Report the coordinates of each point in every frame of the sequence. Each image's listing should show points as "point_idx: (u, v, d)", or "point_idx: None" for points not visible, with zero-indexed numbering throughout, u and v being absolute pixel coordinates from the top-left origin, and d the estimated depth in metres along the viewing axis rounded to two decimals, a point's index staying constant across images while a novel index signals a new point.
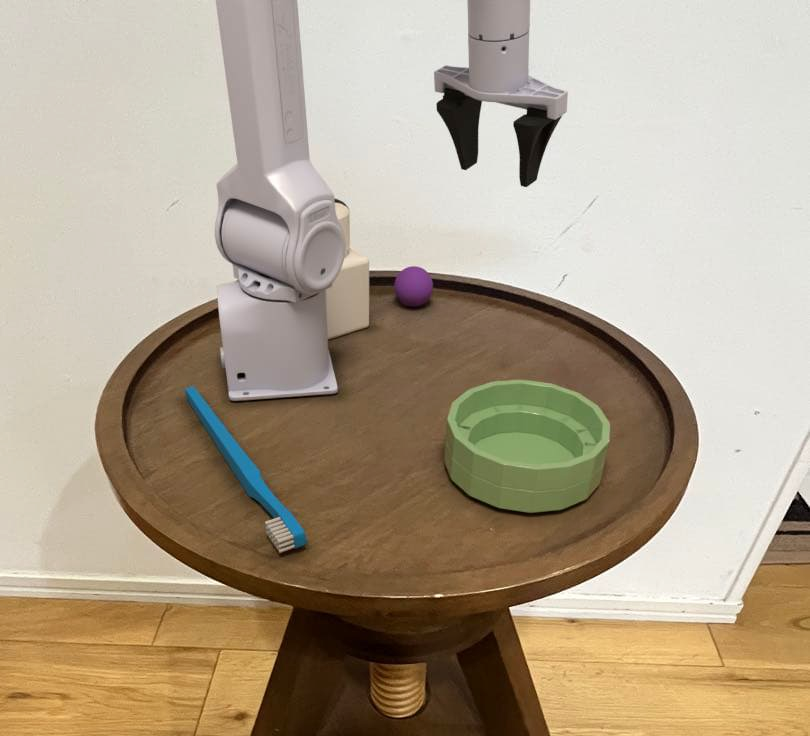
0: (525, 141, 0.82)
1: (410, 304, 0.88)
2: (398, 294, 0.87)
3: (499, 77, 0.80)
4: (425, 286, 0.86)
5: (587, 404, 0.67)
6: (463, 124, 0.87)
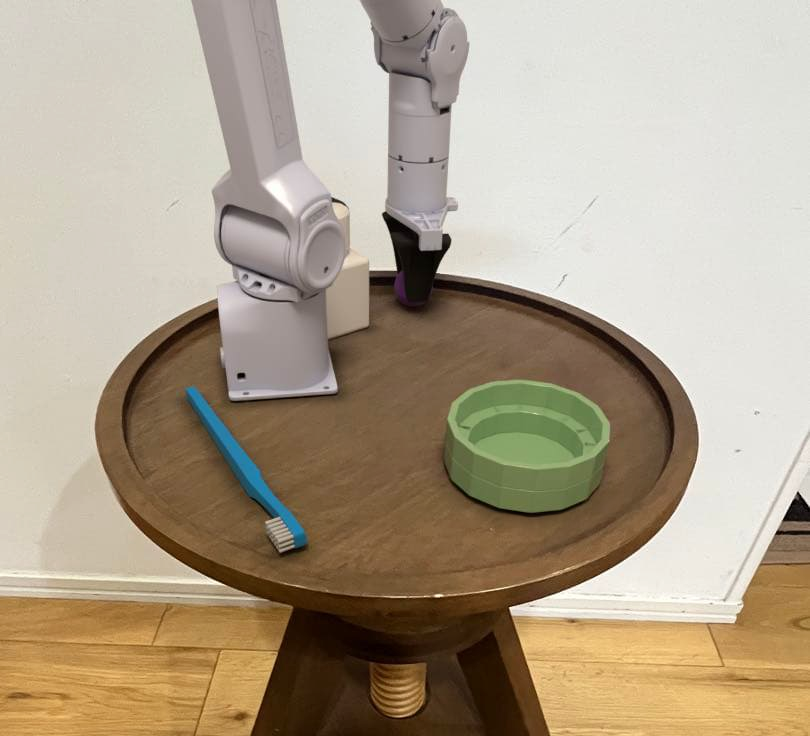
0: (399, 255, 0.82)
1: (410, 304, 0.88)
2: (398, 294, 0.87)
3: (397, 194, 0.80)
4: None
5: (587, 404, 0.67)
6: None
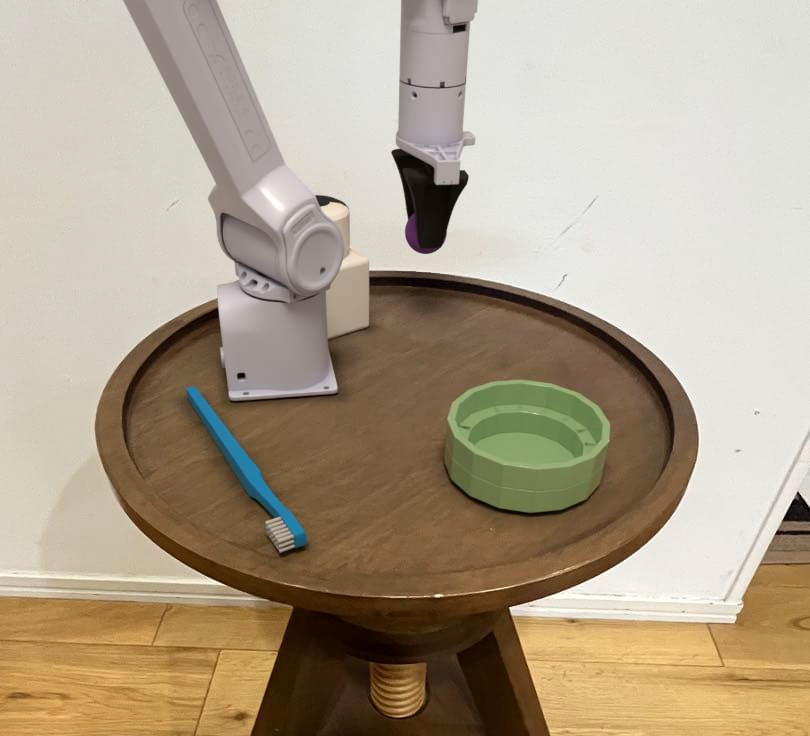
0: (411, 194, 0.75)
1: (422, 251, 0.81)
2: (409, 240, 0.80)
3: (409, 124, 0.73)
4: None
5: (587, 404, 0.67)
6: None
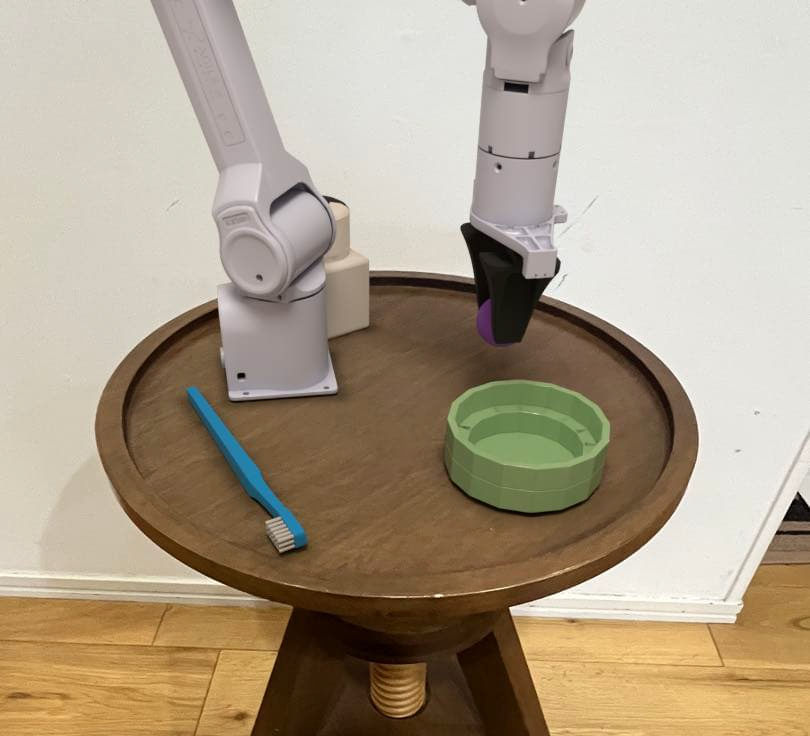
0: (490, 283, 0.61)
1: (498, 345, 0.67)
2: (482, 332, 0.66)
3: (489, 201, 0.59)
4: None
5: (587, 404, 0.67)
6: None
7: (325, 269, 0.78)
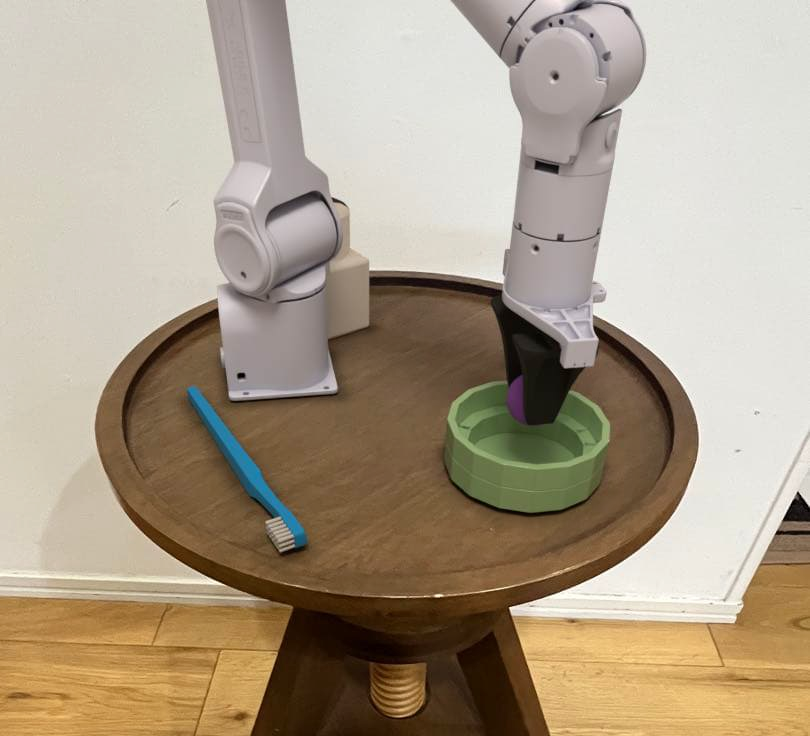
0: (523, 366, 0.58)
1: None
2: (513, 411, 0.63)
3: (525, 282, 0.55)
4: None
5: (587, 404, 0.67)
6: None
7: None
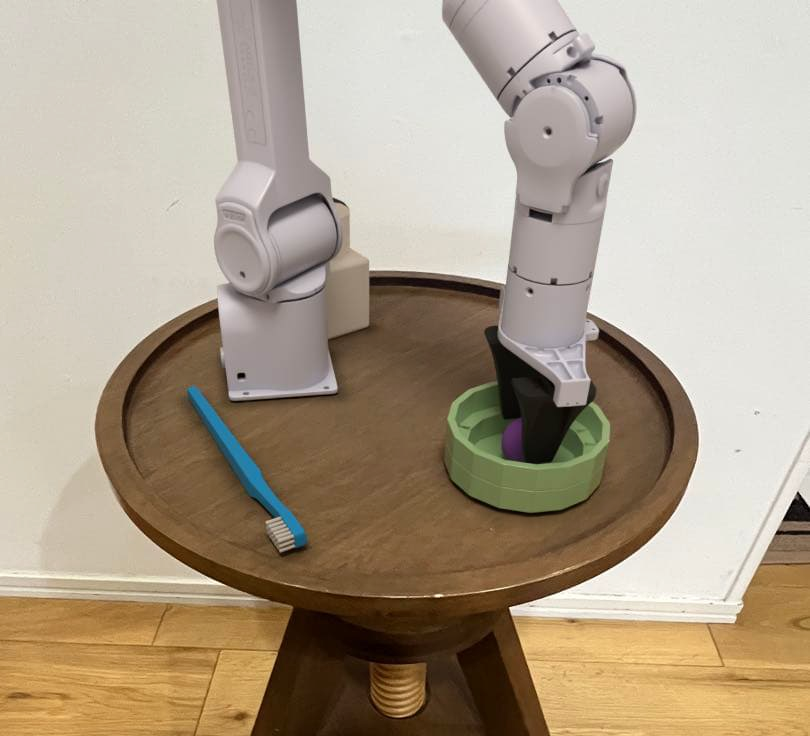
0: (522, 409, 0.59)
1: None
2: (508, 454, 0.65)
3: (520, 323, 0.57)
4: None
5: None
6: (510, 365, 0.64)
7: None
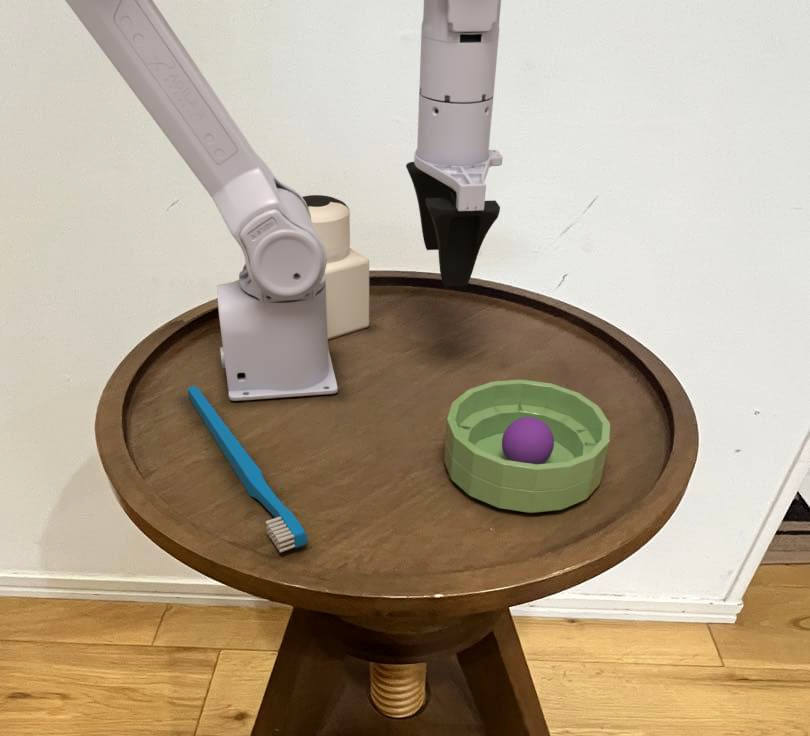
0: (435, 227, 0.67)
1: None
2: (508, 455, 0.65)
3: (429, 143, 0.65)
4: (546, 448, 0.64)
5: (587, 404, 0.67)
6: (429, 196, 0.73)
7: (325, 269, 0.78)
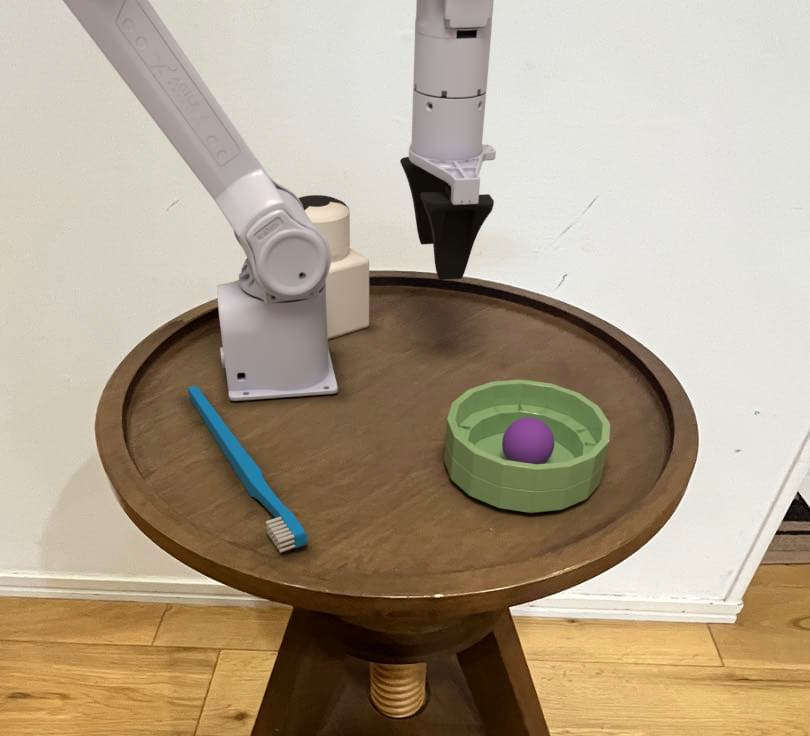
0: (430, 221, 0.68)
1: None
2: (508, 455, 0.65)
3: (423, 138, 0.66)
4: (547, 449, 0.64)
5: (587, 404, 0.67)
6: (423, 190, 0.74)
7: None
